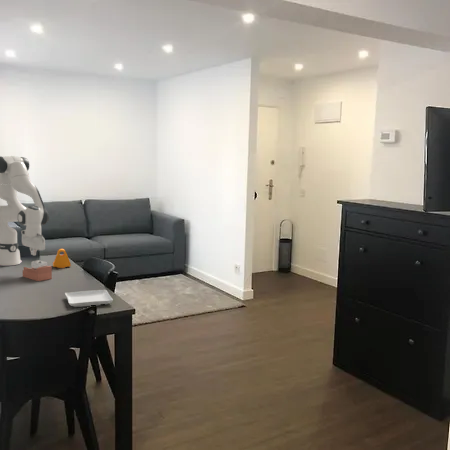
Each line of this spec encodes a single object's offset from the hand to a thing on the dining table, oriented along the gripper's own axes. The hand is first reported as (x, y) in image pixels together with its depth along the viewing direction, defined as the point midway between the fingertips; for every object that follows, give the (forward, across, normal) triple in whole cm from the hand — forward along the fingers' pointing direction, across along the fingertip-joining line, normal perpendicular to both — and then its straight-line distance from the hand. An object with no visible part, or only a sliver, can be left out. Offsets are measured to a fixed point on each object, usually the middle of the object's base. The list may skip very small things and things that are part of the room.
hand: (33, 255), depth 305 cm
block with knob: (+7, -13, +4) cm, 15 cm away
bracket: (+13, +7, -25) cm, 29 cm away
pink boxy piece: (+12, -10, +4) cm, 16 cm away
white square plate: (+10, -73, +14) cm, 75 cm away
